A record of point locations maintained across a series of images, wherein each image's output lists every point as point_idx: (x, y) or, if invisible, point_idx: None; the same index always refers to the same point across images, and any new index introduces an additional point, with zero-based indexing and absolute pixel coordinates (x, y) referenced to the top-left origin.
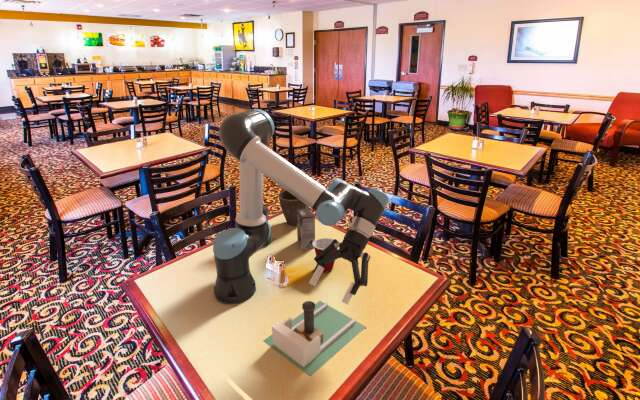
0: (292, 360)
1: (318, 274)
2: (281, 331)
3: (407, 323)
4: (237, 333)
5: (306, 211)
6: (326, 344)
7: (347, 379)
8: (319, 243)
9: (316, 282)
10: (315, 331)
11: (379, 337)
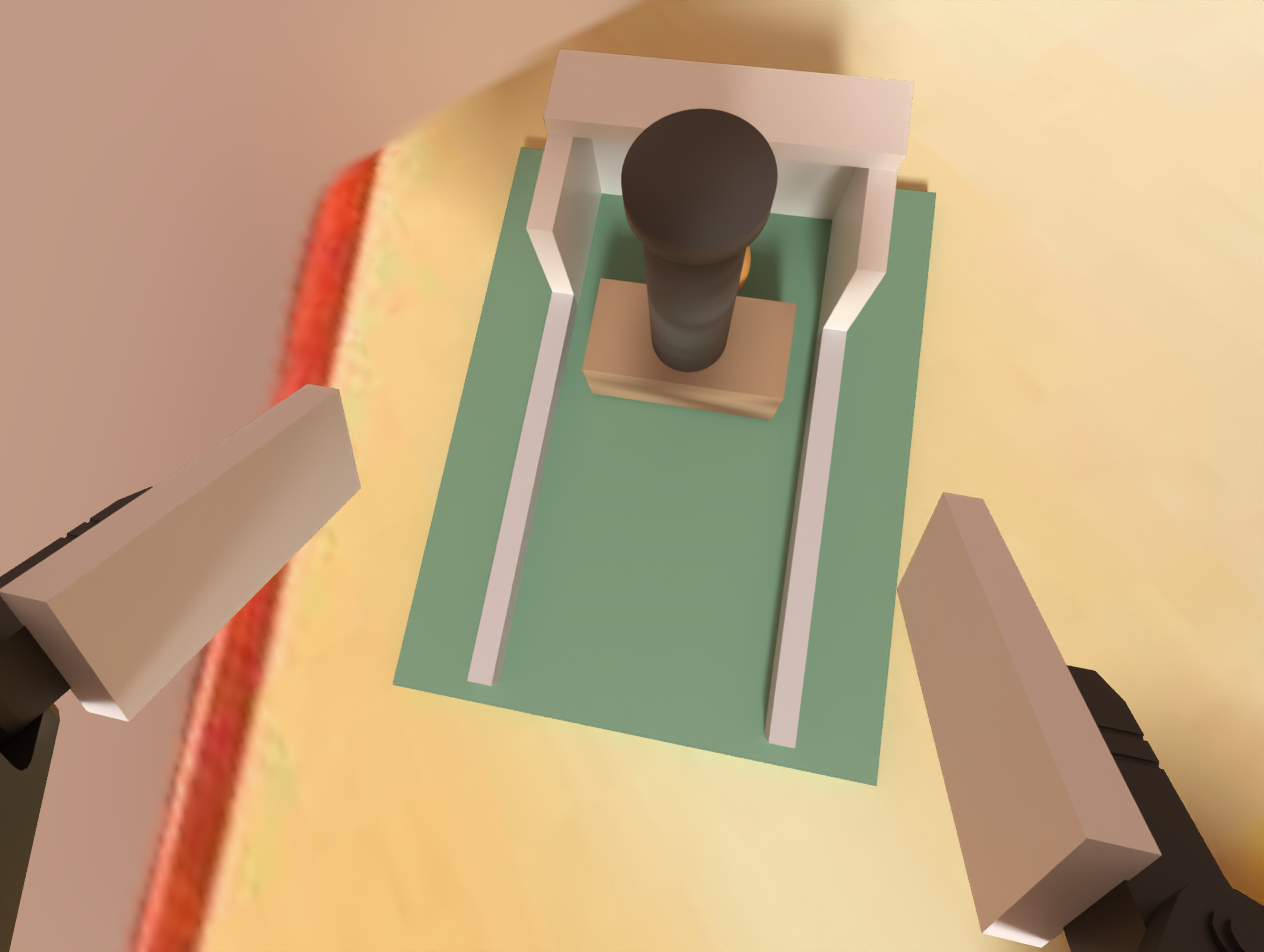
0: None
1: (967, 703)
2: (809, 83)
3: (142, 912)
4: (1136, 173)
5: None
6: (541, 349)
7: (351, 256)
8: None
9: (910, 629)
10: (641, 351)
11: (289, 649)
